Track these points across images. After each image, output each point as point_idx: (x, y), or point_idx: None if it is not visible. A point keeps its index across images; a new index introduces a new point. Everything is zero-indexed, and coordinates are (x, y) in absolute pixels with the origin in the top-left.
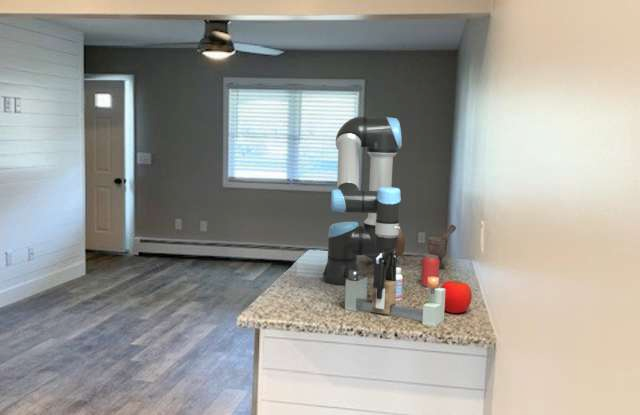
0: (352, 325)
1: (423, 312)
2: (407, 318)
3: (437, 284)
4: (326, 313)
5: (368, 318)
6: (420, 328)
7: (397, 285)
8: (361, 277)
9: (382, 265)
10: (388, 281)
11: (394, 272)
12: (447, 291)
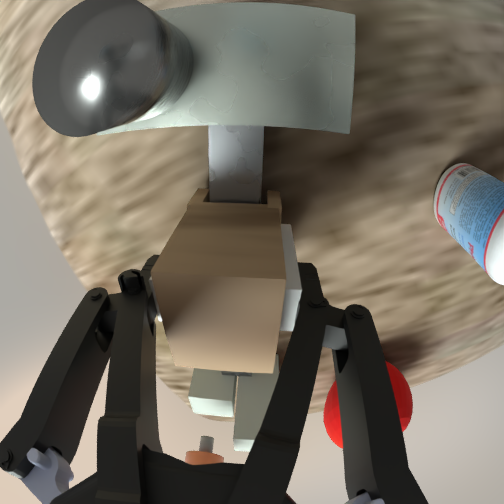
0: (46, 198)
1: (192, 378)
2: None
3: None
4: None
5: (131, 204)
6: (163, 350)
7: (471, 253)
8: (294, 83)
9: (70, 448)
10: (248, 345)
11: (339, 393)
12: (338, 425)
